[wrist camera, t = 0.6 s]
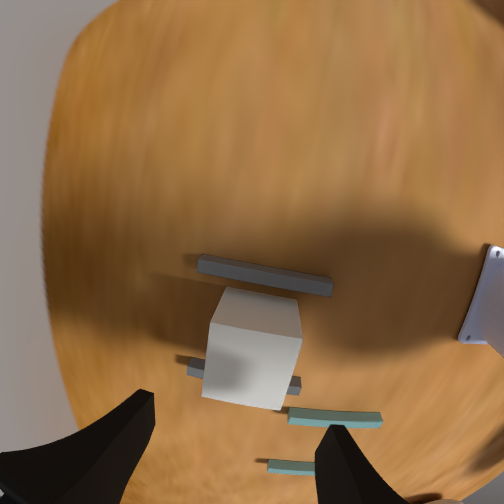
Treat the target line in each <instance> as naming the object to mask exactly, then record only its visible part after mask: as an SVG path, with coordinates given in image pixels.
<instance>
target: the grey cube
mask: <svg viewBox="0 0 504 504" xmlns="http://www.w3.org/2000/svg"><path fill="white" fill-rule="evenodd" d="M302 342H303V334H302V328H301V322H300V315H299V309H298V304H297V299H292V298H286V297H281V296H275V295H270V294H264V293H259V292H253V291H248V290H243V289H238V288H233V287H228V286H226V289H225V291H224V293H223V295H222V297H221V299H220V302H219V304H218V306H217V308H216V310H215V313H214V315H213V317H212V319H211V321H210V328H209V336H208V344H207V352H206V361H205V369H204V378H203V387H202V396H203V397H207V398H211V399H216V400H221V401H226V402H231V403H236V404H241V405H247V406H253V407H259V408H266V409H273V410H281V407H282V404H283V401H284V398H285V395H286V392H287V389H288V386H289V383H290V380H291V377H292V374H293V371H294V368H295V365H296V362H297V358H298V355H299V352H300V349H301V345H302Z"/></svg>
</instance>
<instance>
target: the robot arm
mask: <svg viewBox="0 0 504 504" xmlns="http://www.w3.org/2000/svg"><path fill="white" fill-rule="evenodd" d="M496 252H497V254H496ZM467 336H468V337H467ZM458 341H459V342H460V343H468V344H489V345H491V346H492V347H493V348H494V349H495V350H496V351H497V352H498V353H499V354H500V355H501V356H502V357H503V358H504V249H503V248H500V247H498V246H495V245H491V246H489V248H488V251H487V255H486V258H485V262H484V266H483V269H482V272H481V276H480V279H479V282H478V285H477V288H476V291H475V294H474V297H473V300H472V303H471V305H470V308H469V311H468V313H467V316H466V318H465V321H464V323H463V326H462V328H461V331H460V333H459V335H458ZM154 426H155V408H154V393H152V392H149V391H146V390H143V389H139V390H137V391H136V392H135V393H134V394H132V395H131V396H130V397H129V398H127V399H126V400H125V401H124V402H122V403H121V404H120V405H119V406H117V407H116V408H115V409H113V410H112V411H110V412H109V413H108V414H106V415H105V416H103V417H102V418H100V419H99V420H97V421H96V422H94V423H92V424H91V425H89V426H87V427H86V428H84V429H82V430H80V431H78V432H76V433H74V434H72V435H70V436H67V437H65V438H63V439H60V440H57V441H55V442H52V443H49V444H46V445H42V446H38V447H34V448H30V449H25V450H19V451H11V452H1V453H0V489H1V490H2V492H4V494H3V496H2V497H1V496H0V504H120V501H121V498H122V495H123V493H124V490H125V487H126V485H127V483H128V481H129V479H130V477H131V475H132V473H133V471H134V469H135V468H136V466H137V464H138V462H139V460H140V458H141V456H142V454H143V453H144V451H145V449H146V447H147V445H148V443H149V440H150V438H151V435H152V432H153V429H154ZM315 480H316V488H317V496H318V504H409V503H408V502H407V501H406V500H404V499H403V498H402V497H401V496H399V495H398V494H397V493H396V492H395V491H394V490H393V489H392V488H391V487H390V486H389V485H388V484H387V483H386V482H385V481H384V480H383V479H382V478H381V476H380V475H379V474H378V473H377V472H376V470H375V469H374V468H373V467H372V465H371V464H370V463H369V461H368V460H367V458H366V457H365V456H364V454H363V453H362V451H361V450H360V448H359V447H358V445H357V444H356V442H355V441H354V439H353V438H352V436H351V435H350V433H349V432H348V430H347V429H346V427H345V426H344V425H338V424H330V426H329V427H328V429H327V431H326V433H325V435H324V437H323V439H322V440H321V442H320V444H319V446H318V448H317V449H316V451H315Z"/></svg>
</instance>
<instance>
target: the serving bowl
mask: <svg viewBox="0 0 504 504" xmlns="http://www.w3.org/2000/svg"><path fill="white" fill-rule="evenodd" d="M424 504H463V503H462V502H460V501H457V500H453V499H442V500H436V501H431V502H428V503H424Z"/></svg>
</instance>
